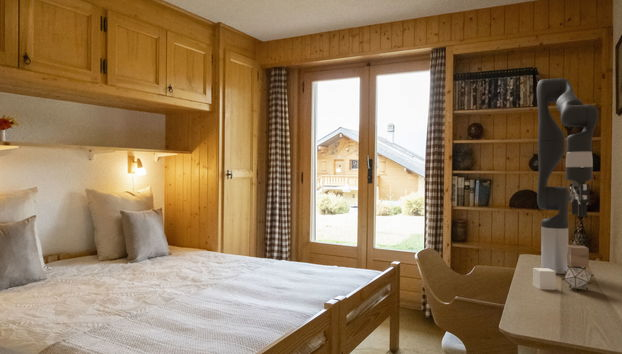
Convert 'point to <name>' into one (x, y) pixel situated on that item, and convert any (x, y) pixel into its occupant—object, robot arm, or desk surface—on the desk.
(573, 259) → the walnut block
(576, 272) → the game die
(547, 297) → the desk surface
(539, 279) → the white block
